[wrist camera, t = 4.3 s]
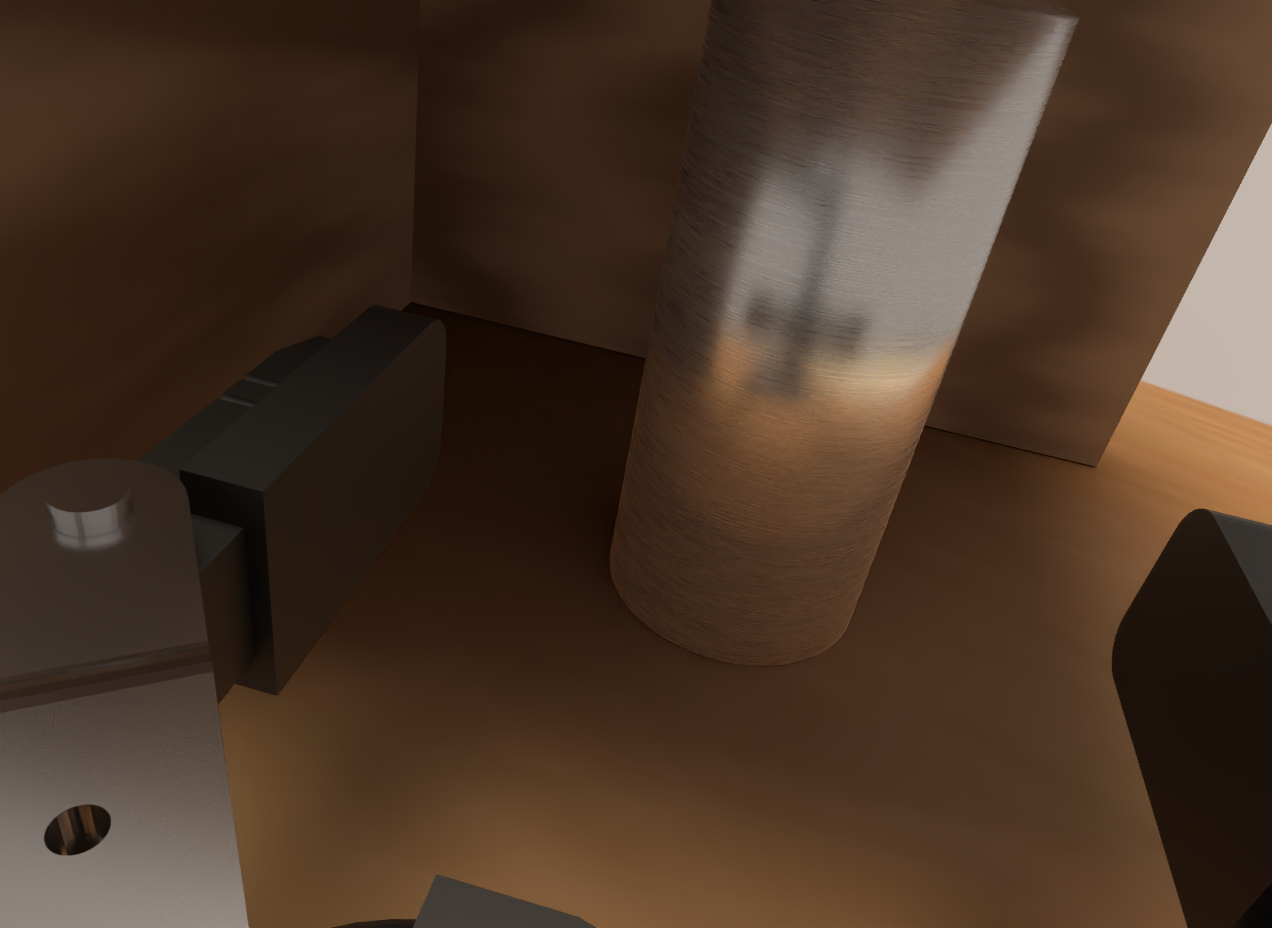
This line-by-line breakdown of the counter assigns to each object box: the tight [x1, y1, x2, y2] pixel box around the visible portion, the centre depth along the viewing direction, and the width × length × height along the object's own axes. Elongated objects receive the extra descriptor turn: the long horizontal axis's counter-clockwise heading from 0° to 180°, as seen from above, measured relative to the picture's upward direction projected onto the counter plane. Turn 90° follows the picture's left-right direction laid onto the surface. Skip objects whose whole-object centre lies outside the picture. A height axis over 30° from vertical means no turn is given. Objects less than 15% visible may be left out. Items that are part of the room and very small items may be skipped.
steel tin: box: [609, 0, 1079, 666], centre depth 16 cm, size 5×5×11 cm
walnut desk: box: [0, 0, 1272, 496], centre depth 15 cm, size 21×18×18 cm
